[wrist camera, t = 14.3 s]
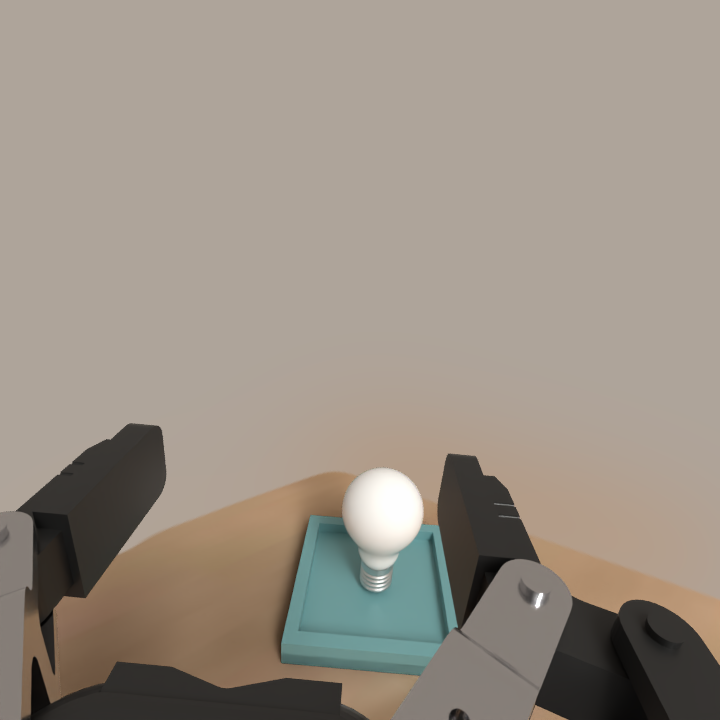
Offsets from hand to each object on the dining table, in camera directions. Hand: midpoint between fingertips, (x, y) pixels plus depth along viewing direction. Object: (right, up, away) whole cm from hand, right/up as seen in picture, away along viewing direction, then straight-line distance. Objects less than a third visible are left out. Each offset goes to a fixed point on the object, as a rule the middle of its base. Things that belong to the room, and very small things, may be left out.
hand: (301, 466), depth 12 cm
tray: (+3, -17, +24) cm, 30 cm away
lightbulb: (+3, -16, +24) cm, 29 cm away
